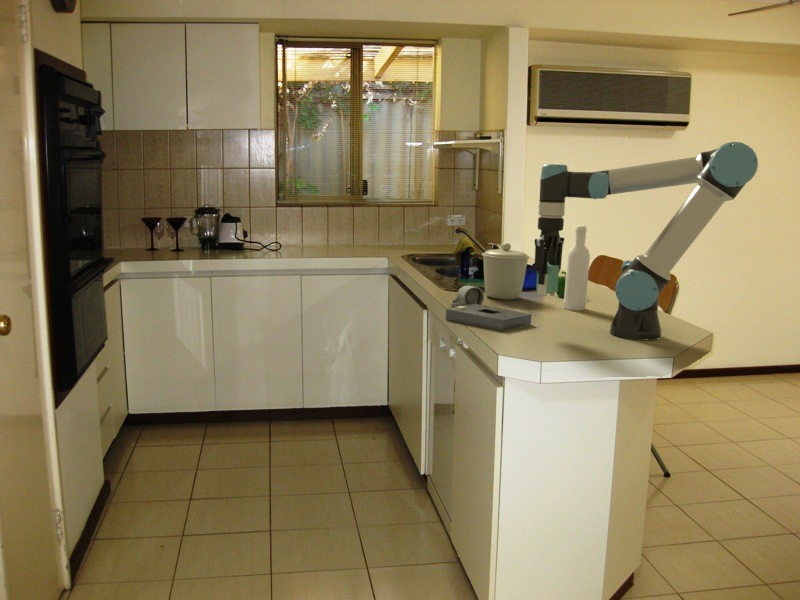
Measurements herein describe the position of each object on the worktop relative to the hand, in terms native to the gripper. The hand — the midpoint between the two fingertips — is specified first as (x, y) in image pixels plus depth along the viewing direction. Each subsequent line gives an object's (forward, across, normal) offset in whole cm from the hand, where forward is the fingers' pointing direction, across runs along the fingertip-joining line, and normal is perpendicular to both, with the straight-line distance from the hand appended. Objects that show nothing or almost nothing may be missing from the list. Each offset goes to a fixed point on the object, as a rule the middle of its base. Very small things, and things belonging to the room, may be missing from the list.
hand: (546, 294), depth 238 cm
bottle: (+12, -47, -16) cm, 51 cm away
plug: (0, 0, 0) cm, 0 cm away
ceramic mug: (+12, -16, -41) cm, 46 cm away
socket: (+12, 0, -20) cm, 24 cm away
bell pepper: (+12, -67, -30) cm, 74 cm away
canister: (+12, -44, -44) cm, 64 cm away
